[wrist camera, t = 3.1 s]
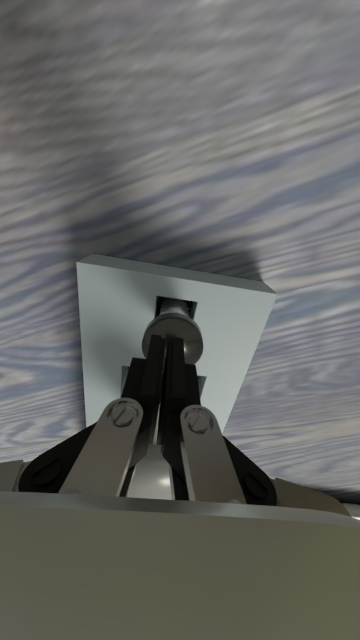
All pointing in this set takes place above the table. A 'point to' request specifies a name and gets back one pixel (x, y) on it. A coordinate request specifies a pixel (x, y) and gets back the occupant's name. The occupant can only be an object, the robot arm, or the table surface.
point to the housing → (140, 309)
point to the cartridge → (152, 474)
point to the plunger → (175, 329)
